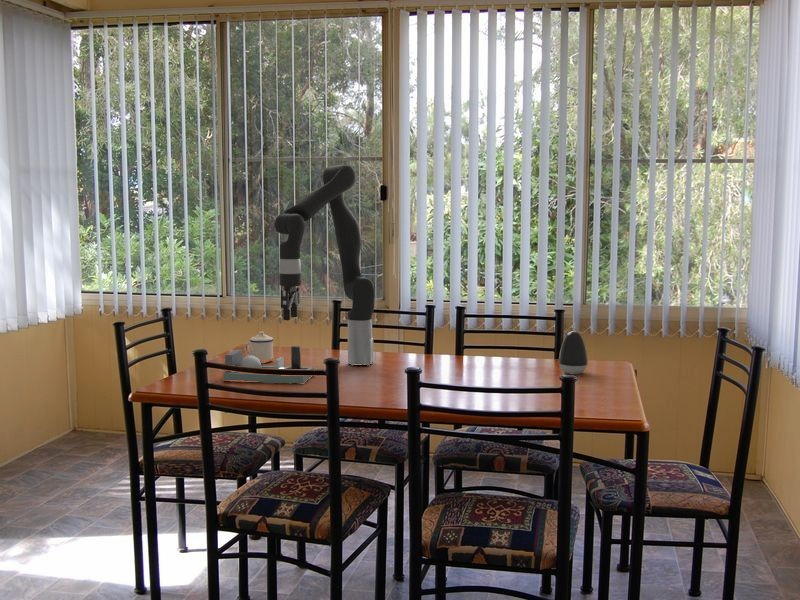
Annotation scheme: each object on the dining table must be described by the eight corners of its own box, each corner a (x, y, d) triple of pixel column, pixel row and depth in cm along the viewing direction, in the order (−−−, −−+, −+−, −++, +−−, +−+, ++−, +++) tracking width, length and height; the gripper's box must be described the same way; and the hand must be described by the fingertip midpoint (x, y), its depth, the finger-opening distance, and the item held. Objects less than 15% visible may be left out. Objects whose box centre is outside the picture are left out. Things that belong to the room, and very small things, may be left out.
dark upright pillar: (303, 376, 290) (302, 345, 289) (298, 380, 284) (297, 348, 283) (280, 376, 292) (280, 344, 290) (275, 379, 285) (274, 347, 284)
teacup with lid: (277, 360, 324) (277, 330, 323) (267, 364, 315) (266, 334, 314) (250, 358, 328) (249, 329, 326) (238, 362, 319) (238, 332, 318)
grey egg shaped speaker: (577, 369, 305) (578, 328, 303) (592, 374, 295) (594, 332, 294) (553, 371, 302) (553, 329, 300) (567, 376, 292) (568, 334, 290)
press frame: (314, 375, 294) (313, 350, 293) (303, 384, 280) (302, 358, 279) (238, 373, 298) (237, 348, 297) (223, 381, 284) (222, 355, 283)
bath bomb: (236, 380, 286) (236, 357, 285) (240, 375, 294) (240, 353, 293) (260, 380, 286) (259, 357, 285) (263, 375, 294) (263, 353, 293)
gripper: (294, 273, 278) (294, 321, 280) (306, 270, 292) (306, 316, 294) (273, 273, 280) (273, 321, 281) (285, 270, 294) (286, 315, 295)
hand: (290, 318), depth 288 cm, fingers open, 8 cm apart
